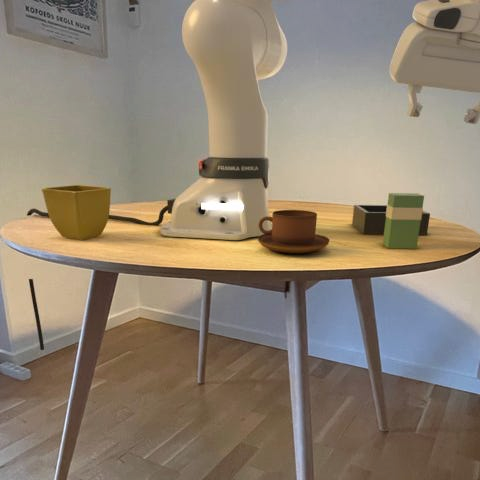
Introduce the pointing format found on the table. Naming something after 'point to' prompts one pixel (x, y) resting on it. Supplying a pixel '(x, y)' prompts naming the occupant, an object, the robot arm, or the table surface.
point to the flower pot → (78, 209)
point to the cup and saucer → (292, 232)
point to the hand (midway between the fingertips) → (441, 119)
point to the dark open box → (379, 219)
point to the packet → (403, 220)
